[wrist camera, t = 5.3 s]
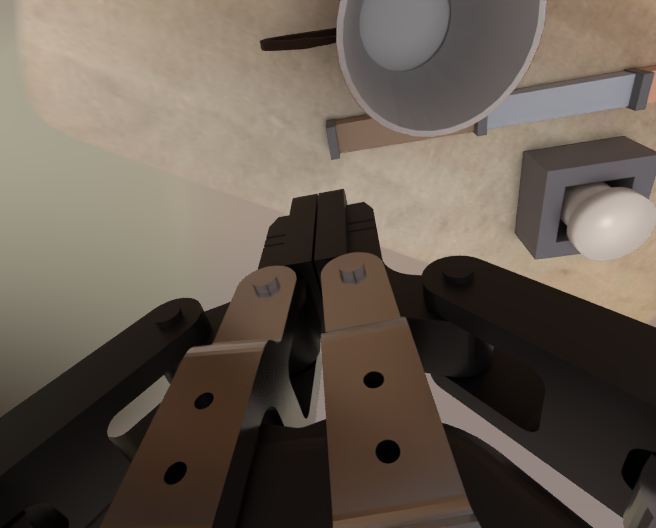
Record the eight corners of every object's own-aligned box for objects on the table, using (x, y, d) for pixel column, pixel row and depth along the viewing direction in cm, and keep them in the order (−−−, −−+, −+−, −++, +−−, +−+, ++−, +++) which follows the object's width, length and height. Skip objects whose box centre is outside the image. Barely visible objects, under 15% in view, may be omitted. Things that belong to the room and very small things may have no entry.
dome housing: (523, 151, 29) (547, 171, 26) (624, 136, 29) (662, 154, 25) (514, 233, 33) (535, 259, 30) (603, 221, 33) (634, 246, 29)
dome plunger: (540, 166, 29) (583, 201, 24) (609, 156, 29) (667, 189, 24) (533, 223, 32) (570, 265, 27) (596, 214, 32) (645, 255, 27)
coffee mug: (502, -29, 24) (594, -43, 15) (431, 113, 28) (472, 162, 20) (317, -123, 21) (306, -200, 13) (272, 47, 26) (243, 71, 18)
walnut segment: (326, 120, 28) (326, 128, 27) (470, 95, 27) (478, 102, 26) (331, 150, 30) (331, 159, 28) (469, 128, 29) (477, 136, 27)
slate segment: (470, 95, 27) (478, 102, 26) (624, 69, 26) (644, 74, 25) (469, 128, 29) (477, 136, 27) (616, 104, 28) (635, 110, 26)
